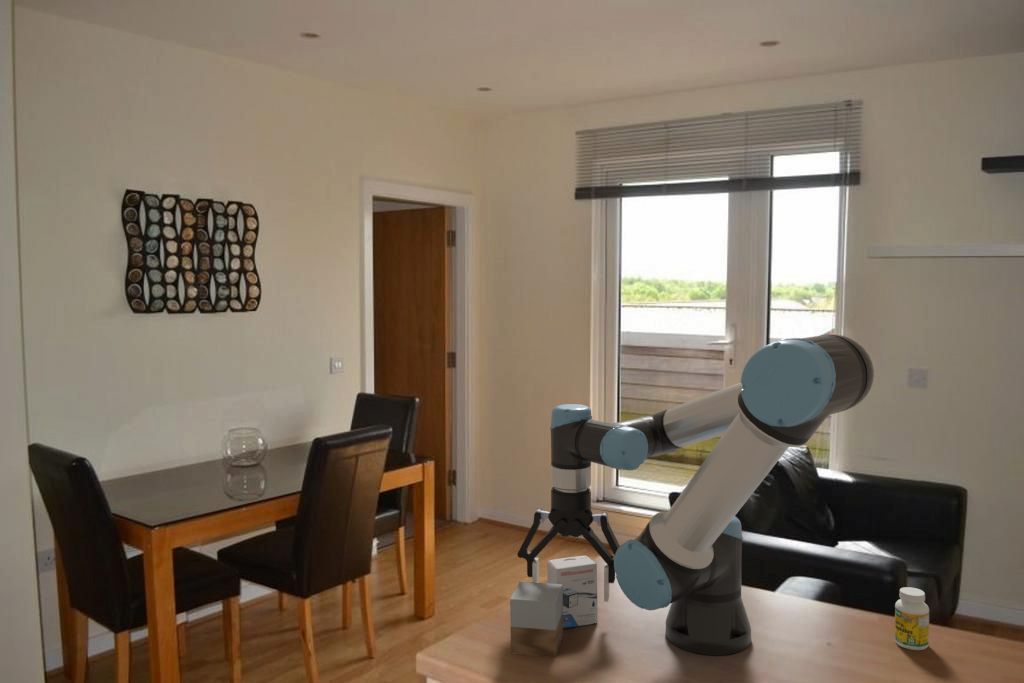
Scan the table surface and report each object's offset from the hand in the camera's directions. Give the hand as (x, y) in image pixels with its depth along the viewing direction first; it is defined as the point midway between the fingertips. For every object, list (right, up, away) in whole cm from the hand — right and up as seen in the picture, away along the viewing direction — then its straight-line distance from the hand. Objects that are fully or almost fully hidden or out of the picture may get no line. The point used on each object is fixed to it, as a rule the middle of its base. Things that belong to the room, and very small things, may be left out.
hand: (570, 596), depth 152 cm
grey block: (-7, -1, -9) cm, 12 cm away
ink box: (0, -5, 0) cm, 5 cm away
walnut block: (-7, -6, -9) cm, 13 cm away
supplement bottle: (+59, -5, -11) cm, 61 cm away
